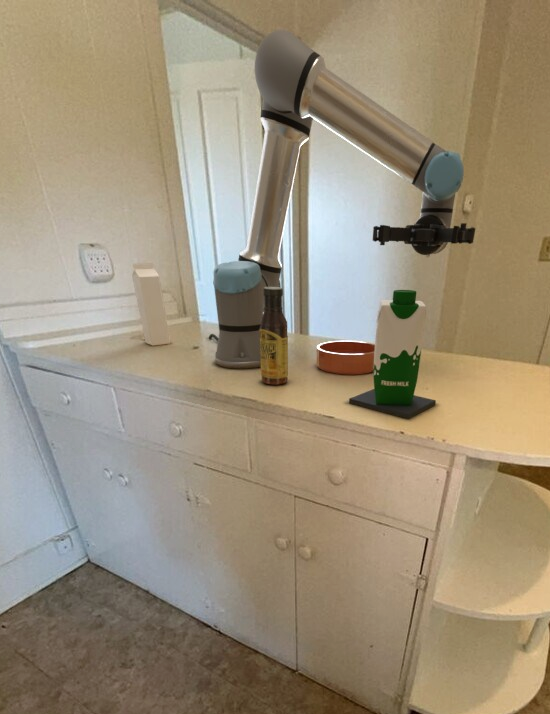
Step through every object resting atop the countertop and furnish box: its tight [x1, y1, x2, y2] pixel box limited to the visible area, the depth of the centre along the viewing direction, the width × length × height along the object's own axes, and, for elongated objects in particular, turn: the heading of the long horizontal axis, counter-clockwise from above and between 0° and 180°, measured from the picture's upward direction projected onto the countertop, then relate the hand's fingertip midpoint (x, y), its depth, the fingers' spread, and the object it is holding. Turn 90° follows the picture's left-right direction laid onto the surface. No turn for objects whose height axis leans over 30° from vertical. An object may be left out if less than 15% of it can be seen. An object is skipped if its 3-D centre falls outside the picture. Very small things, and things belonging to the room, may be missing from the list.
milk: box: [131, 262, 171, 347], centre depth 130 cm, size 6×6×22 cm
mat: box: [348, 388, 437, 420], centre depth 87 cm, size 14×11×1 cm
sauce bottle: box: [260, 287, 289, 386], centre depth 95 cm, size 7×6×20 cm
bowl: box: [316, 340, 375, 376], centre depth 111 cm, size 16×16×5 cm
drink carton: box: [372, 289, 427, 406], centre depth 81 cm, size 9×9×20 cm
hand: (417, 234), depth 79 cm, fingers open, 13 cm apart
